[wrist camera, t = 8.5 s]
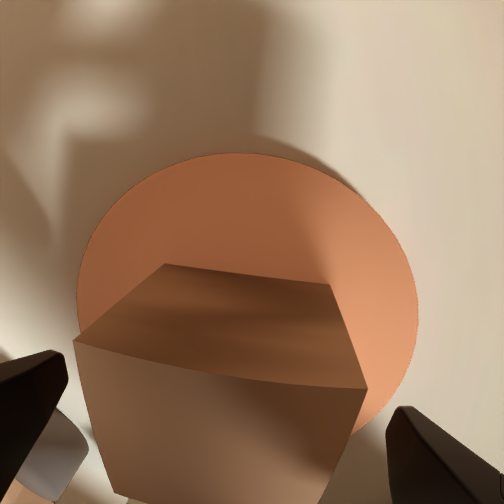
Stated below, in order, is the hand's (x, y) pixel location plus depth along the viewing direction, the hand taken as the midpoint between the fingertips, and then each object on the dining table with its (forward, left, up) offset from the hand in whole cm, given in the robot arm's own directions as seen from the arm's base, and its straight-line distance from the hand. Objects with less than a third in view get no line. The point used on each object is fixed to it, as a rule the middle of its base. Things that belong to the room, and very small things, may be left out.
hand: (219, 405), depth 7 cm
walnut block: (0, 0, -3) cm, 3 cm away
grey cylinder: (+10, +9, -4) cm, 14 cm away
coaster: (0, 0, -4) cm, 4 cm away
